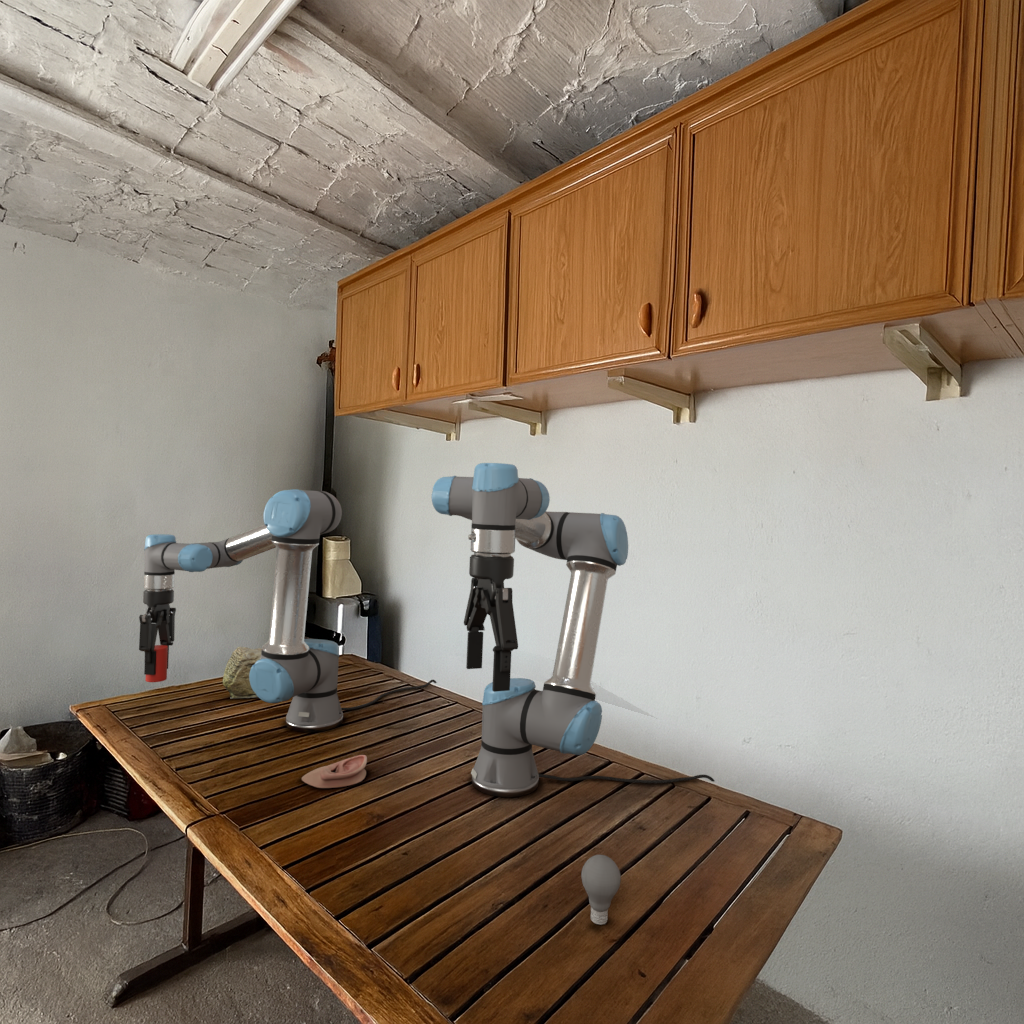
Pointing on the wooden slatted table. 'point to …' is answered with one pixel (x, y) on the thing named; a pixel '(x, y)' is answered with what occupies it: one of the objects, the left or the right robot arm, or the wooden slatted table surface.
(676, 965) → the wooden slatted table surface
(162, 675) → the cylinder
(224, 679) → the fossil
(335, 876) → the wooden slatted table surface
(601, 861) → the light bulb
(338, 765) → the anatomical model
